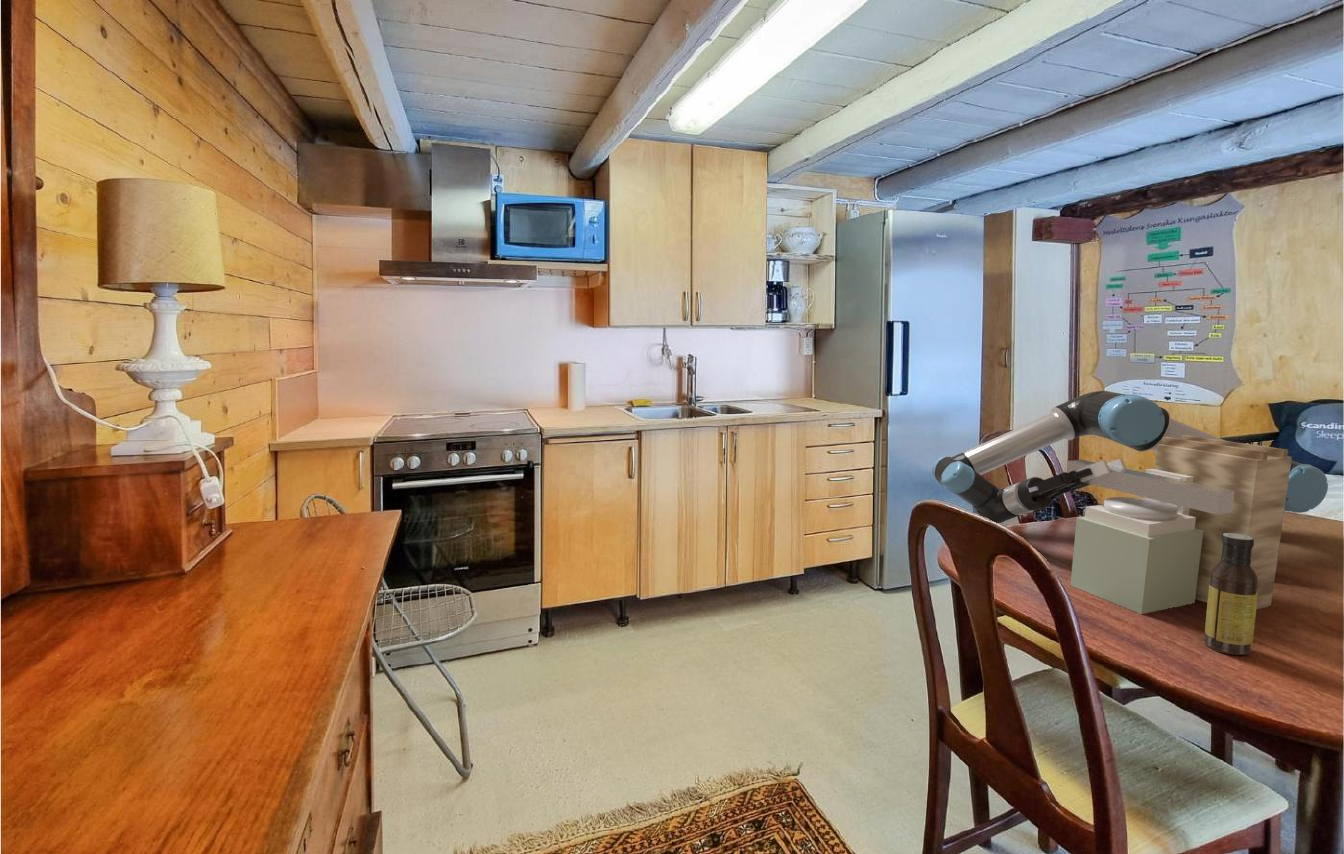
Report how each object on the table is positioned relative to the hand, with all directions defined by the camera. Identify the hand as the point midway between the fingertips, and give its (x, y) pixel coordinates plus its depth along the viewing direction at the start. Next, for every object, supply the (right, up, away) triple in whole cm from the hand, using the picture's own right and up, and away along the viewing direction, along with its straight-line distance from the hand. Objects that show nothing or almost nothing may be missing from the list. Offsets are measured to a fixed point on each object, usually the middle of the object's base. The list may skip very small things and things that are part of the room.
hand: (1114, 465), depth 134 cm
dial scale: (+2, -12, -4) cm, 12 cm away
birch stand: (+18, -26, -1) cm, 32 cm away
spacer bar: (+2, -5, -5) cm, 7 cm away
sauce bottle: (+2, -30, -24) cm, 39 cm away
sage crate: (+2, -26, -2) cm, 27 cm away
